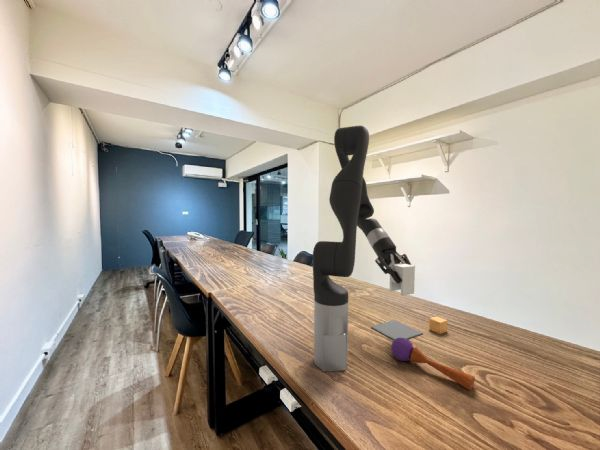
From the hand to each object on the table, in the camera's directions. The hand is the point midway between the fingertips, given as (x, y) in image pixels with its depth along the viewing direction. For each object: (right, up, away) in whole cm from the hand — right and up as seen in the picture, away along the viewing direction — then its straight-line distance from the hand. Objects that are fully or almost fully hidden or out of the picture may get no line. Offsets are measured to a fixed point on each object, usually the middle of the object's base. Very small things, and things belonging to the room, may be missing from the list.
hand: (406, 281), depth 87 cm
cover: (-1, -4, +2) cm, 5 cm away
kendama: (-2, -19, -20) cm, 28 cm away
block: (+13, -18, +3) cm, 22 cm away
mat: (-2, -18, +3) cm, 18 cm away
